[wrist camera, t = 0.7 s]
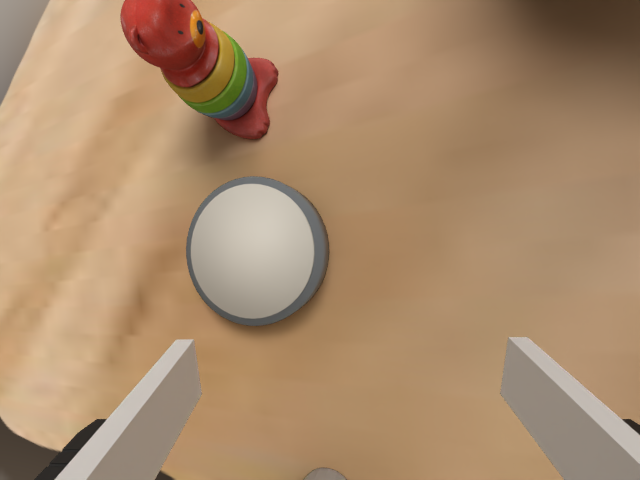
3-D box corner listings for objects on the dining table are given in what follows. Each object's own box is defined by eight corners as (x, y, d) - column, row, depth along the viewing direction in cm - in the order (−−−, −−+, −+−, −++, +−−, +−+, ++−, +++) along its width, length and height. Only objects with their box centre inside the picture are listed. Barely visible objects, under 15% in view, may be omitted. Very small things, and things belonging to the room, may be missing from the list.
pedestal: (233, 161, 43) (216, 153, 39) (352, 215, 39) (348, 212, 35) (184, 280, 45) (164, 283, 41) (293, 343, 41) (282, 354, 37)
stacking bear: (267, 141, 42) (175, 71, 24) (204, 133, 44) (81, 64, 27) (281, 63, 41) (198, -65, 24) (217, 59, 44) (100, -60, 26)
